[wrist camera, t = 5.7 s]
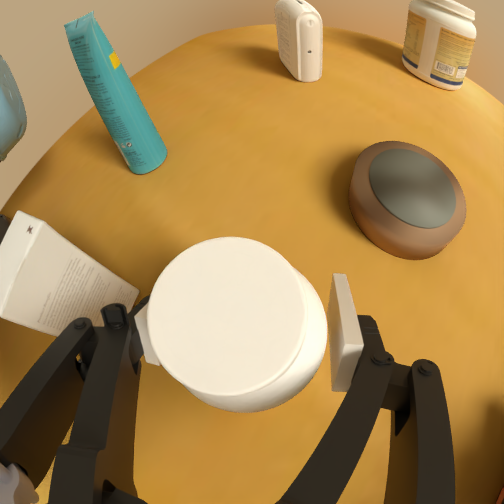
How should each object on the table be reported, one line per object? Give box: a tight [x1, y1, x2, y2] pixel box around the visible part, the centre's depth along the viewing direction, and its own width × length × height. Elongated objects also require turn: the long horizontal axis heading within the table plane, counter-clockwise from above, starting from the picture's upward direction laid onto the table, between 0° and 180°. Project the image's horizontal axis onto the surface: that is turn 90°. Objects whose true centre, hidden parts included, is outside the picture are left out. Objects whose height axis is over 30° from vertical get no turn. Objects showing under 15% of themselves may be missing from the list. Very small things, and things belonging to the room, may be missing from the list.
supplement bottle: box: [147, 237, 327, 413], centre depth 13 cm, size 7×7×13 cm
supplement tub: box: [402, 0, 476, 90], centre depth 25 cm, size 12×12×17 cm
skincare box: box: [0, 210, 139, 337], centre depth 16 cm, size 6×4×12 cm
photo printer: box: [275, 0, 322, 82], centre depth 29 cm, size 10×4×12 cm, turn 13°
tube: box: [64, 11, 167, 174], centre depth 20 cm, size 7×5×19 cm, turn 59°
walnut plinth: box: [348, 141, 466, 260], centre depth 21 cm, size 11×11×3 cm
